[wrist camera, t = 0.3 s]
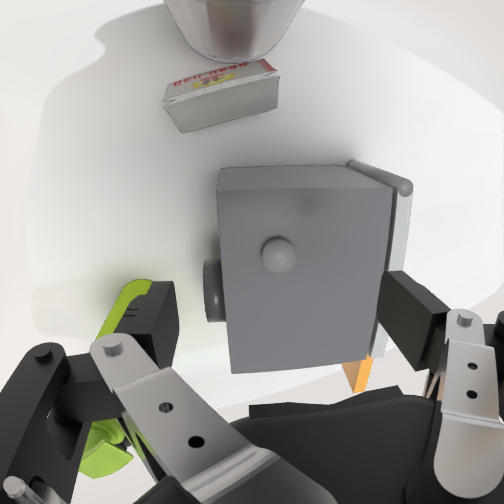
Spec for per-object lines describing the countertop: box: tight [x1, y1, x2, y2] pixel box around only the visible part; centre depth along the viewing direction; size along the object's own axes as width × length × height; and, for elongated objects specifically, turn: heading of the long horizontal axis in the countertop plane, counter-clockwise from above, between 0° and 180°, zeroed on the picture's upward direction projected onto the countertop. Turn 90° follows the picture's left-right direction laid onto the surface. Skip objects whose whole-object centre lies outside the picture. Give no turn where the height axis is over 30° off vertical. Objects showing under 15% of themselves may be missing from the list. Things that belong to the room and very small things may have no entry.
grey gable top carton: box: [162, 59, 280, 133], centre depth 20 cm, size 4×7×10 cm, turn 104°
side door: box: [341, 160, 413, 393], centre depth 27 cm, size 21×1×10 cm, turn 2°
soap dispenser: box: [78, 280, 153, 479], centre depth 23 cm, size 6×7×20 cm
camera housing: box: [203, 166, 393, 374], centre depth 25 cm, size 14×13×11 cm
